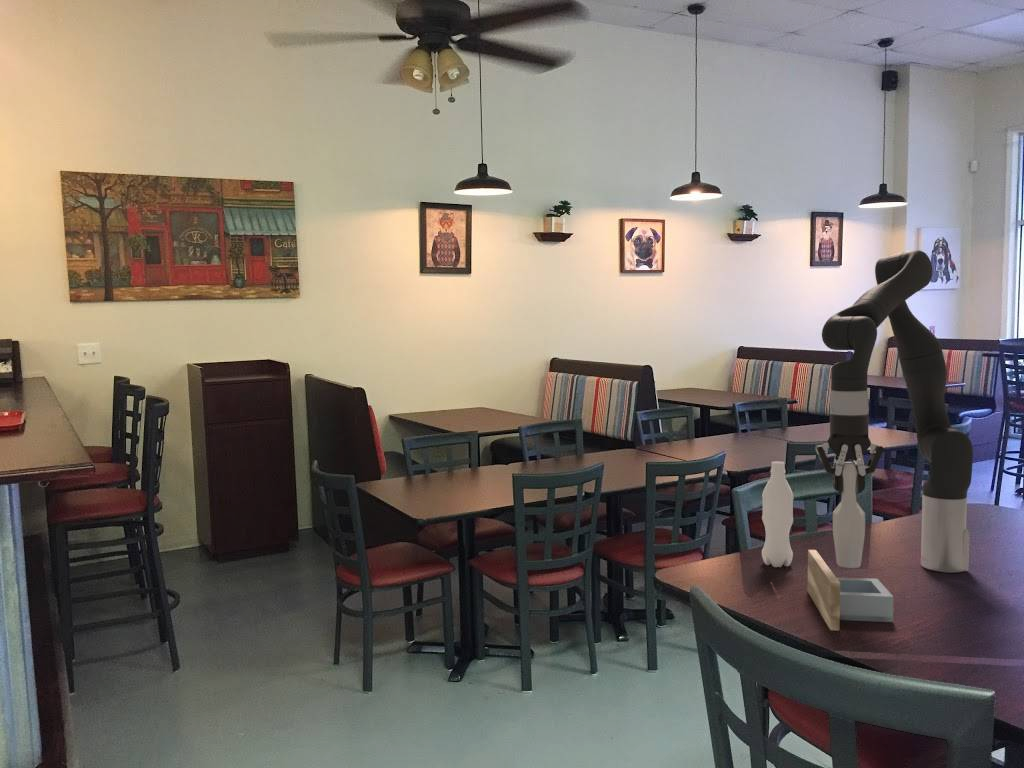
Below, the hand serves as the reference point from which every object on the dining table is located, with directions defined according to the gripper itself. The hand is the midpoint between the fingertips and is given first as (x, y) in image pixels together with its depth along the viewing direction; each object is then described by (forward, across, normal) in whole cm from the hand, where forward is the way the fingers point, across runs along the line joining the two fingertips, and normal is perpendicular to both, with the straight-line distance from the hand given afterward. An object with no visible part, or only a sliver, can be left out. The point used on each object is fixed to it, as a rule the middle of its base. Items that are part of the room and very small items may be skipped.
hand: (848, 492), depth 171 cm
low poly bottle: (+16, 0, 0) cm, 16 cm away
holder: (+22, +2, +12) cm, 25 cm away
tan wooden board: (+22, -2, +12) cm, 26 cm away
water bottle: (+23, +11, -21) cm, 33 cm away
